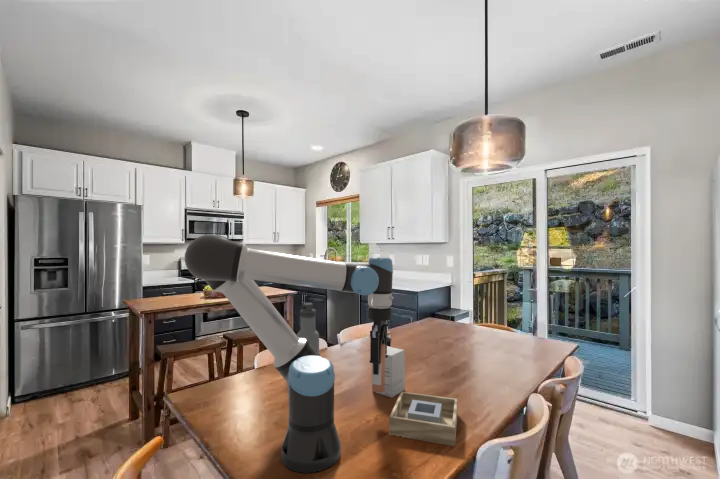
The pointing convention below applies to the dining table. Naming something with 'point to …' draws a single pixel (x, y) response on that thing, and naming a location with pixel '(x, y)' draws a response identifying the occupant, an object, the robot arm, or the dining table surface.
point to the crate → (424, 429)
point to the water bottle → (308, 325)
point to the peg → (381, 387)
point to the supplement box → (394, 372)
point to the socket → (425, 411)
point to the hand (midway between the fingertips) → (378, 381)
